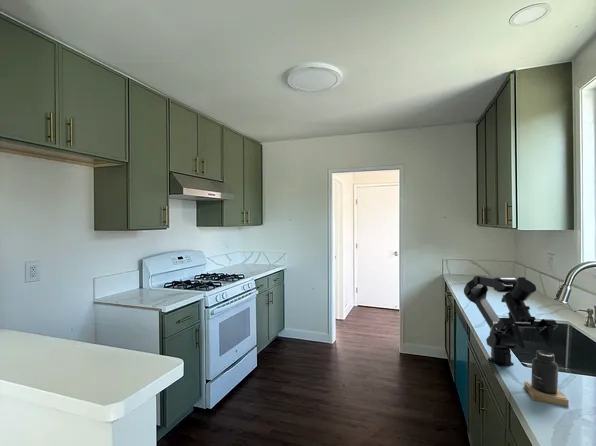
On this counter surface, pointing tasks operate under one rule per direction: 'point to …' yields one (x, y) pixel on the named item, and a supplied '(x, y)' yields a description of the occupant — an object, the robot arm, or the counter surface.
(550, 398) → the square wooden coaster
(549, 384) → the supplement bottle
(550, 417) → the counter surface
